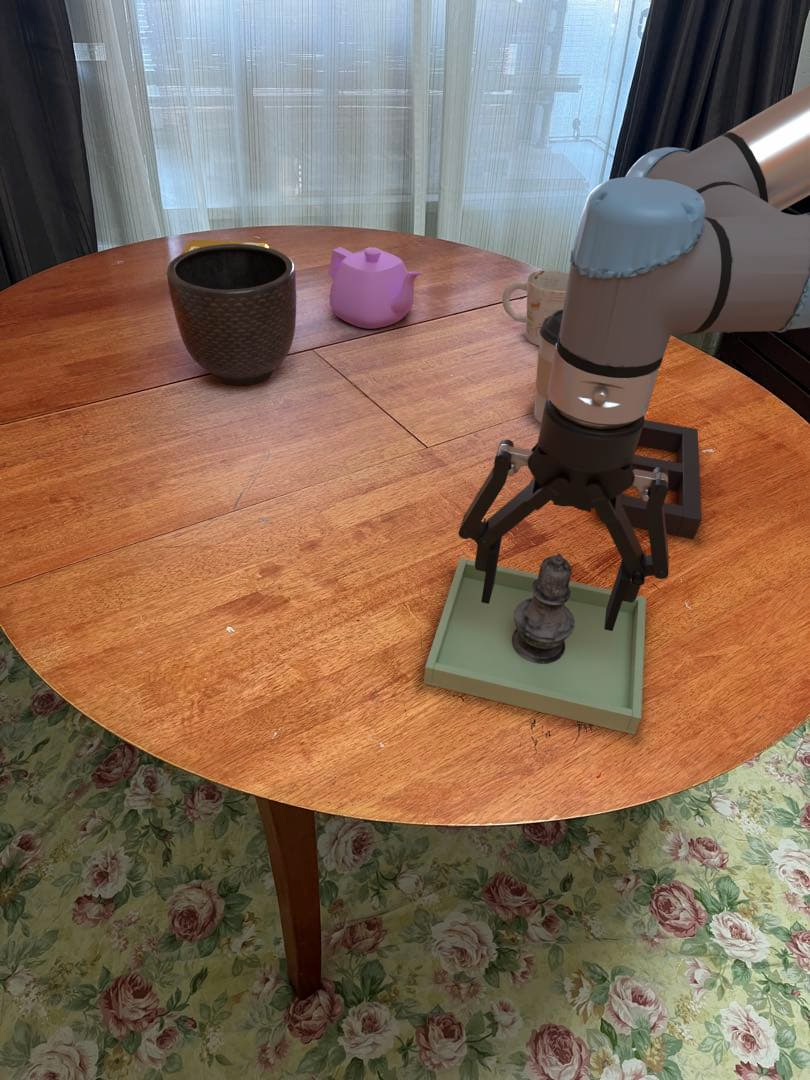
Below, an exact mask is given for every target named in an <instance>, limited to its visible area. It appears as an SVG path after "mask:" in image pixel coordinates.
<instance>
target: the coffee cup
mask: <svg viewBox="0 0 810 1080" xmlns="http://www.w3.org/2000/svg"><path fill="white" fill-rule="evenodd" d="M562 314H563V309H562V310H558V311H556V312H555V313H554V314H553V315H551V316H549V317H547V318H546V319H545V320H544V322H543V325H542V327H541V328H540V334H541V341H540V346H538V351H537V362H536V363H537V364H536V377H535V379H536V380H535V398H534V407H533V408H534V409H533V415H534V418H535V419H536V421H537V422H539V423H540V424H541V422H542V417H543V411H544V406H545V402H546V400H547V398H548V397H549V396H548V393H547V391H548V386H549V380H550V375H551V369H552V364H553V358H554V353H555V347H556V344H557V340H558V336H559V335H558V334H559V332H560V326H561V320H562Z"/></svg>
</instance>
